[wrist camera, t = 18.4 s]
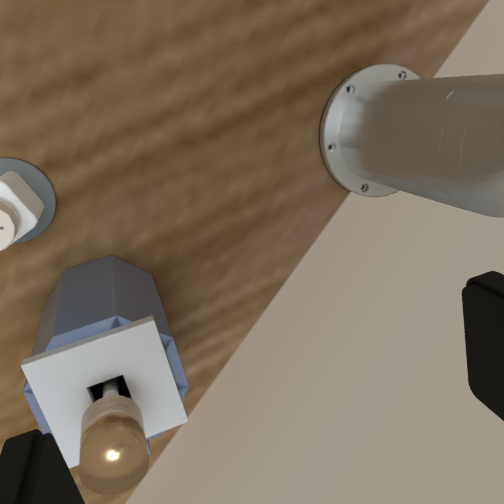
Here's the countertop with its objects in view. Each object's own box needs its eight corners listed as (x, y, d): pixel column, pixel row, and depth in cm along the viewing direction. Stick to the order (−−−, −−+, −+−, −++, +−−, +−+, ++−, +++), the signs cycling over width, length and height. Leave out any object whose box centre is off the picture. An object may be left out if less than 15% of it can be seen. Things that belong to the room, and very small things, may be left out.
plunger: (134, 277, 41) (159, 390, 25) (157, 346, 44) (194, 488, 28) (50, 304, 40) (21, 441, 24) (80, 374, 42) (71, 540, 26)
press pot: (142, 245, 44) (162, 305, 31) (180, 360, 49) (211, 455, 36) (30, 279, 42) (1, 359, 29) (80, 397, 47) (75, 511, 34)
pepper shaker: (48, 206, 40) (35, 235, 32) (8, 234, 40) (-16, 271, 31) (13, 166, 39) (-10, 186, 30) (-29, 195, 38) (-65, 223, 30)
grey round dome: (37, 147, 39) (36, 148, 39) (68, 227, 42) (67, 229, 41) (-54, 170, 38) (-56, 171, 37) (-17, 252, 40) (-18, 254, 40)
